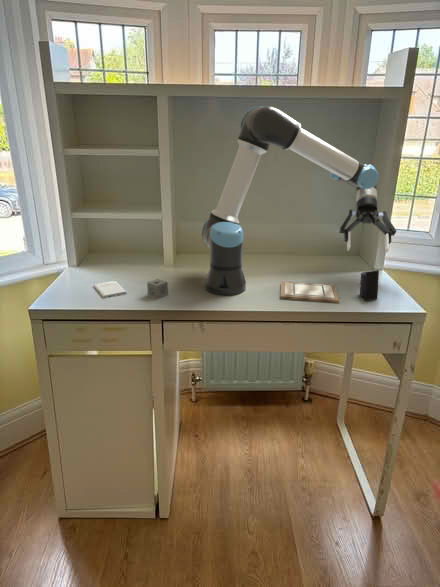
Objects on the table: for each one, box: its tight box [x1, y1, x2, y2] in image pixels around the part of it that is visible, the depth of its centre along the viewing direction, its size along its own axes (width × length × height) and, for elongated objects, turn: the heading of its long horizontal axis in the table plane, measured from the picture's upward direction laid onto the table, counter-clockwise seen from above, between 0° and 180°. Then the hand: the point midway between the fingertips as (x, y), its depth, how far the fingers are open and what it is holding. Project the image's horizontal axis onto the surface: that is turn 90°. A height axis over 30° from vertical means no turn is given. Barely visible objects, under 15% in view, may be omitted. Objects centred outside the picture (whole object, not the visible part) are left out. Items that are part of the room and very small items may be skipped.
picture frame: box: [279, 280, 340, 304], centre depth 152 cm, size 20×15×1 cm
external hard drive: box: [94, 280, 128, 298], centre depth 152 cm, size 2×8×12 cm
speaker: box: [359, 269, 380, 302], centre depth 148 cm, size 8×6×10 cm
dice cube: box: [146, 278, 169, 300], centre depth 147 cm, size 5×5×5 cm
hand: (367, 249), depth 154 cm, fingers open, 13 cm apart
